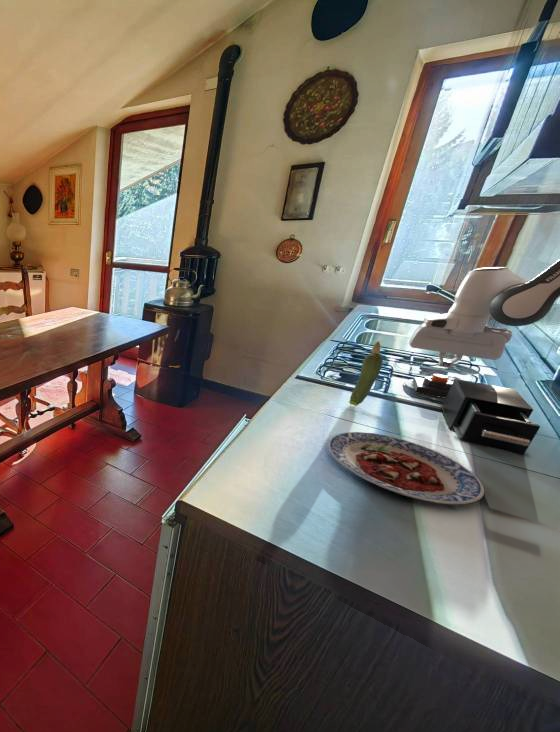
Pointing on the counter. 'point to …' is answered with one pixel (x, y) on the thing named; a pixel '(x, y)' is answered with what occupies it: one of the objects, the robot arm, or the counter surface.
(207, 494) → the counter surface
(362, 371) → the vegetable
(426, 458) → the ceramic plate
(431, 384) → the control block
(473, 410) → the small drawer unit
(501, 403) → the cabinet
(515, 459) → the counter surface
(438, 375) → the button
